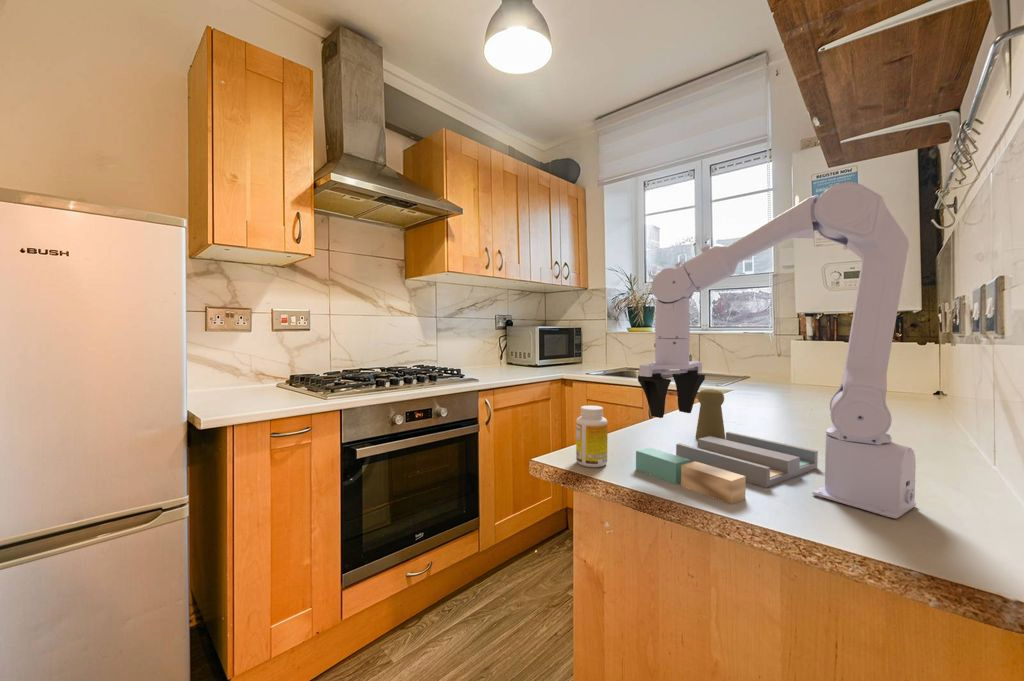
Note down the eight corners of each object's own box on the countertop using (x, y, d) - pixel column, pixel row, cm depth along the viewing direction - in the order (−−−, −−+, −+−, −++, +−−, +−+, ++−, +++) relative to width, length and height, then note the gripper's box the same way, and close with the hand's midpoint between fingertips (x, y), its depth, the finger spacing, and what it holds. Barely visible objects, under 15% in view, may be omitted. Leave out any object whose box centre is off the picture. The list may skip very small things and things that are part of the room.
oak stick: (745, 500, 60) (745, 476, 60) (731, 506, 58) (731, 481, 58) (695, 482, 67) (695, 461, 67) (681, 487, 65) (681, 465, 65)
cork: (719, 436, 94) (719, 387, 94) (730, 443, 88) (731, 392, 88) (691, 435, 95) (692, 387, 95) (700, 443, 89) (701, 391, 89)
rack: (817, 467, 73) (817, 450, 73) (766, 487, 64) (766, 468, 64) (728, 446, 87) (728, 431, 87) (676, 459, 78) (676, 443, 78)
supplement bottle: (613, 463, 76) (613, 407, 75) (595, 470, 72) (595, 411, 72) (588, 456, 80) (588, 403, 79) (569, 463, 76) (569, 407, 76)
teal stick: (689, 481, 68) (689, 459, 68) (675, 485, 66) (675, 463, 66) (649, 467, 74) (649, 447, 74) (635, 470, 73) (636, 450, 72)
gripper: (679, 337, 82) (678, 406, 82) (626, 338, 74) (625, 414, 75) (712, 338, 76) (711, 413, 76) (658, 339, 68) (658, 422, 69)
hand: (671, 414), depth 75 cm, fingers open, 7 cm apart
